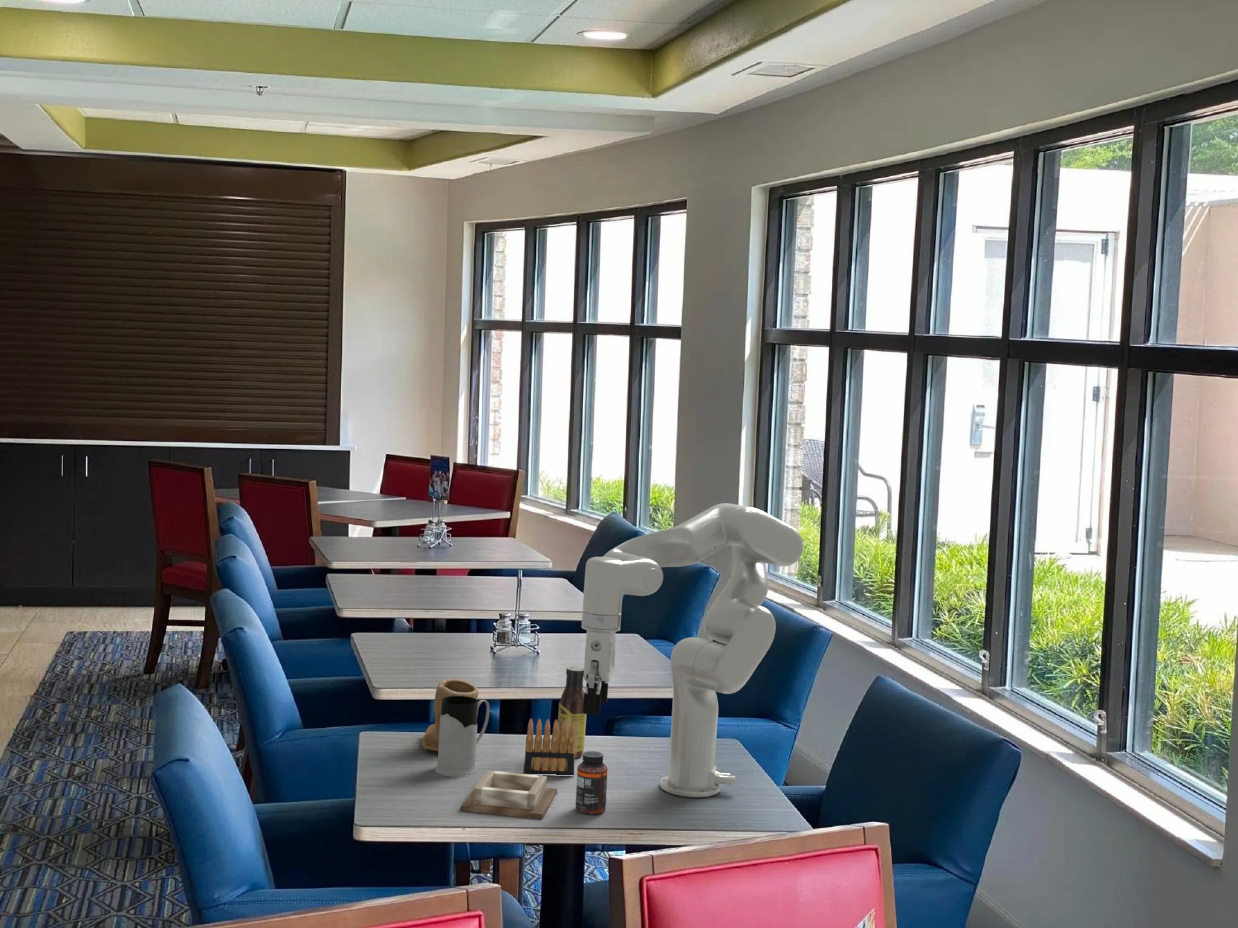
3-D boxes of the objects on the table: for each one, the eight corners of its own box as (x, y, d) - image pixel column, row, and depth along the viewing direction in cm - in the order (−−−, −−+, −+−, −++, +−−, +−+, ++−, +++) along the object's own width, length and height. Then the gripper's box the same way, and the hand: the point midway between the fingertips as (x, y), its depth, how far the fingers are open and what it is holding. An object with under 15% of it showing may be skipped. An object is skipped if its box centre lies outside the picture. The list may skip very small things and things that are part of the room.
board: (557, 793, 271) (558, 774, 271) (542, 819, 255) (543, 798, 255) (479, 785, 273) (481, 766, 273) (460, 810, 257) (461, 790, 257)
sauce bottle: (554, 750, 301) (560, 663, 299) (582, 751, 301) (587, 664, 300) (556, 759, 294) (562, 670, 293) (585, 760, 295) (590, 671, 293)
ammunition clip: (573, 774, 285) (577, 719, 284) (574, 777, 283) (577, 721, 282) (523, 772, 284) (526, 717, 283) (523, 775, 282) (526, 719, 281)
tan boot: (472, 757, 292) (475, 690, 291) (417, 754, 292) (420, 686, 291) (479, 738, 307) (483, 674, 306) (427, 735, 307) (431, 671, 306)
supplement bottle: (601, 804, 266) (604, 748, 265) (608, 814, 260) (612, 757, 259) (571, 805, 264) (575, 749, 263) (579, 815, 258) (582, 758, 257)
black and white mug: (426, 770, 281) (430, 699, 280) (470, 756, 293) (473, 688, 292) (458, 779, 276) (462, 707, 275) (501, 764, 288) (505, 696, 287)
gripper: (614, 630, 250) (608, 721, 251) (626, 615, 267) (620, 699, 268) (574, 627, 251) (568, 716, 252) (588, 612, 268) (583, 696, 269)
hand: (595, 708), depth 260 cm, fingers open, 9 cm apart
